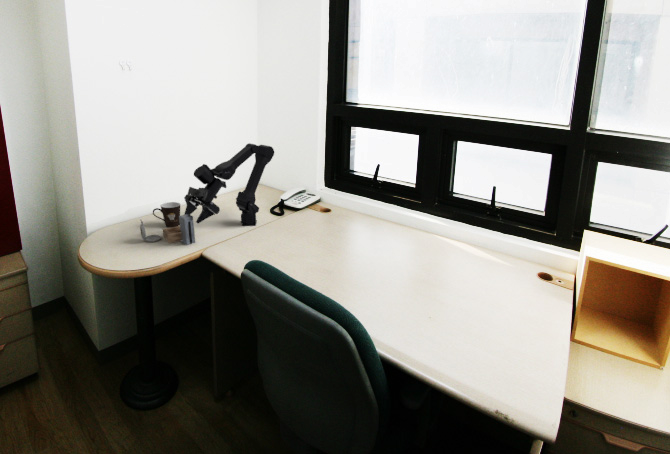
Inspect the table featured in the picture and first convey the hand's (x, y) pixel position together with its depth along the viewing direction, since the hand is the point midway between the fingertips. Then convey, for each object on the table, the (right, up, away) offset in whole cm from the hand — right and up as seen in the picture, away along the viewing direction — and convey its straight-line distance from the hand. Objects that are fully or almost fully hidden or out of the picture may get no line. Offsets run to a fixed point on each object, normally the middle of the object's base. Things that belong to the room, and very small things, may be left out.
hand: (190, 220), depth 189 cm
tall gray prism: (-2, -10, +2) cm, 10 cm away
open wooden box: (-8, -7, +7) cm, 13 cm away
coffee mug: (-17, -2, +22) cm, 27 cm away
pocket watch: (-19, -9, +4) cm, 21 cm away
